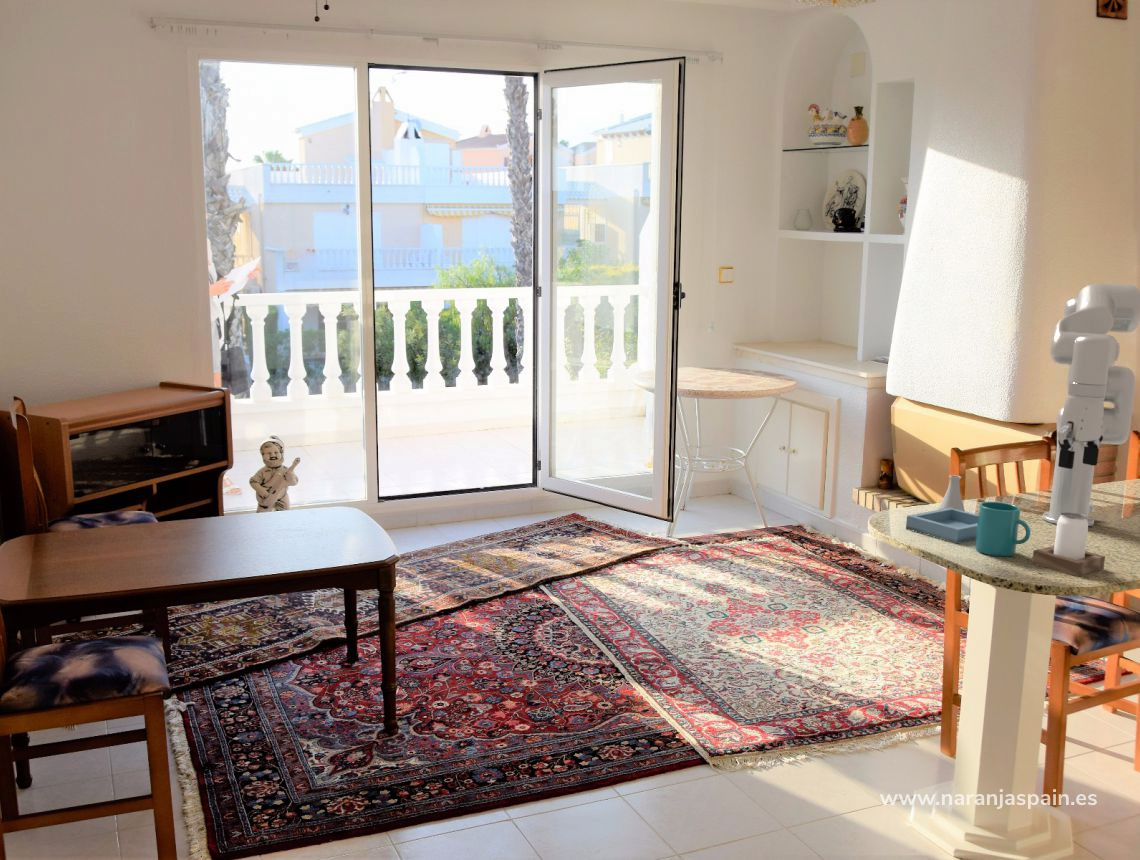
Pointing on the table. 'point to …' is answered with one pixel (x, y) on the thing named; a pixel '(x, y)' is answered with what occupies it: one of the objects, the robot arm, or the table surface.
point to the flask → (953, 495)
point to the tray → (945, 524)
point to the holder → (1068, 562)
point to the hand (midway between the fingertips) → (1077, 466)
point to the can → (1071, 536)
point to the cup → (999, 529)
